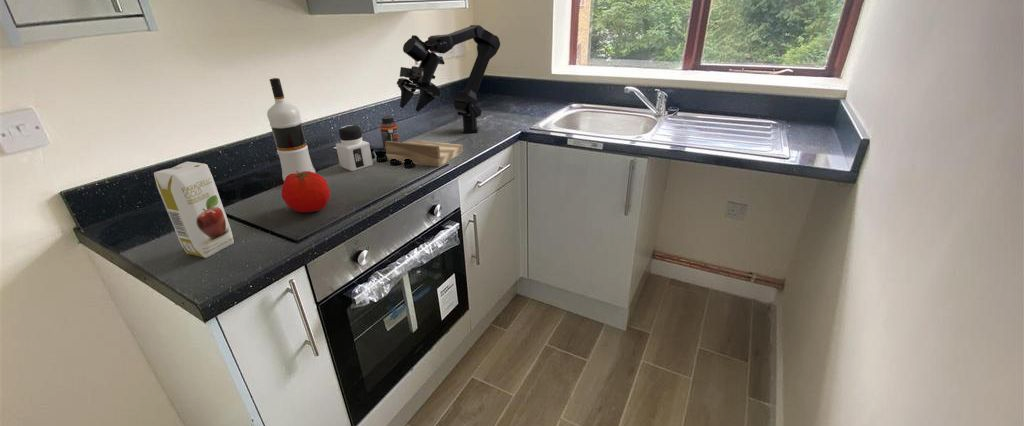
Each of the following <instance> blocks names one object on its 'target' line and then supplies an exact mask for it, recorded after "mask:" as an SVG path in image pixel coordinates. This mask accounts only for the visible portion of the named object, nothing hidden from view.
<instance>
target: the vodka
mask: <svg viewBox="0 0 1024 426" xmlns="http://www.w3.org/2000/svg"><path fill="white" fill-rule="evenodd" d="M269 82H270V83H269V84H270V86H271V90H272V94H273V99H274V104H272V106H270V108H269V109H268V110H267V112H266V115H267V119H268V121H269V126H270V128H271V131H272V135H273V140H274V143H275V146H276V149H277V150H276V152H277V154H278V157H279V161H280V166H281V173H282V174H281V175H282V176H281V177H282V180H283V182H284V181H285V179H286V177H287V176H288V175H289V174H293V173H297V172H299V173H301V172H303V171H310V170H311V171H310V172H314V173H316V174H317V171H316V169H315V167H314V165H313V163H312V160H311V156H310V152H309V146H308V145H307V141H306V137H305V133H304V129H303V124H302V119H301V114H300V110H299V109H298V107H297V106H295V105H293V104H291V103H289V102H286V98H285V95H284V90H283V87H282V84H281V79H280V78H278V77H272V78H270V79H269ZM296 171H297V172H296Z"/></svg>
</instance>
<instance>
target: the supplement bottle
mask: <svg viewBox="0 0 1024 426" xmlns="http://www.w3.org/2000/svg"><path fill="white" fill-rule="evenodd" d="M381 121H382V122H381V123H380V125H379V127H380V135H381V140H382V141H381V142H382V147H383V149H384V150H386V146H385V142H386V141H394V142H400V138H399V137H400V136H399V129H398V123H397V122H396V121H394V116H393V115H386V116H382V117H381Z"/></svg>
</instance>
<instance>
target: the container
mask: <svg viewBox="0 0 1024 426" xmlns="http://www.w3.org/2000/svg"><path fill="white" fill-rule="evenodd" d="M338 134H339V138H340V139H339V140H340V142H338V143H335V146H336V147H335V148H336V152H337V153H336V154H337V156H338V161H339V167H341V168H344V169H346V170H348V171H350V172H355V171H358V170H361V169H364V168H368V167H371V166H373V164H374V163H373V157H372V152H371V147H370V143H369V142H367V141H365V140H363V136H362V135H363V134H362V130H361V127H360V126H358V125H354V124H352V125H351V124H350V125H345V126H342V127H340V128H339V129H338Z"/></svg>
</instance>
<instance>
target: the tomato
mask: <svg viewBox="0 0 1024 426" xmlns="http://www.w3.org/2000/svg"><path fill="white" fill-rule="evenodd" d="M310 171H311V170H310ZM310 171H303V172H301V173H299V172H297V171H296V172H297V173H293V174H289V175H288V176H287V177H286V179H285V181H283V184H282V187H281V192H280V193H281V198H282V200H283V201H284V203H285V204H286V205H287V207H289V209H291V210H293V211H295V212H300V213H312V212H317V211H321V210H322V209H324V207H326V206H327V204H328V202H329V201H330V196H331V192H330V191H331V190H330V187H329V186H328V183H327V181H326V179H325V178H324V177H323V176H321V175H320V174H319V173H317V172H316V173H314V172H310Z"/></svg>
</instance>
